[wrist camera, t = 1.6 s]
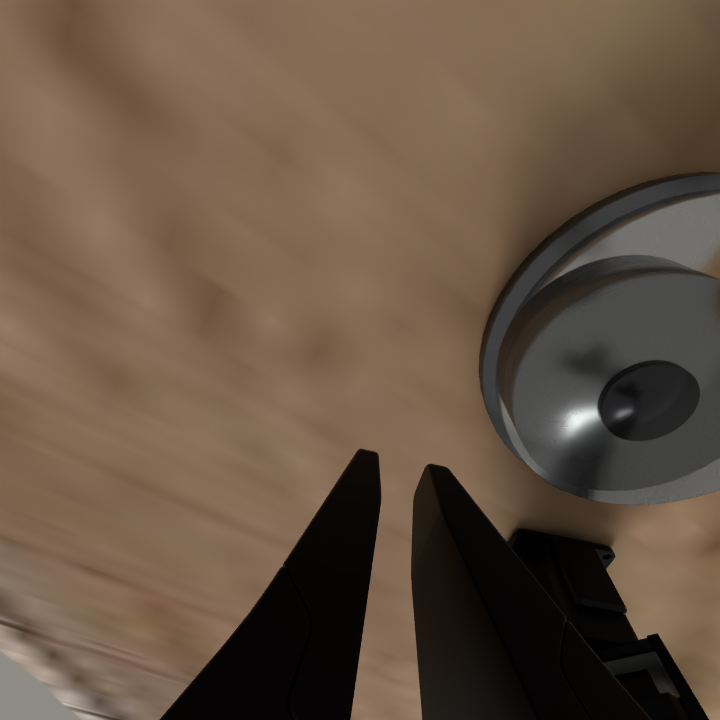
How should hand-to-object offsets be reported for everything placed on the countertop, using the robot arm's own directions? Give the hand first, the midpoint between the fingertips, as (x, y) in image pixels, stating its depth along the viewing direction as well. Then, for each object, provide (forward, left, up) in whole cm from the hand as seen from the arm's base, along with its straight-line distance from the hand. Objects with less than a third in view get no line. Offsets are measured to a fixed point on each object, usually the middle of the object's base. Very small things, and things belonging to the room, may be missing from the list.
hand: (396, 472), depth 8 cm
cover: (0, -9, -10) cm, 13 cm away
